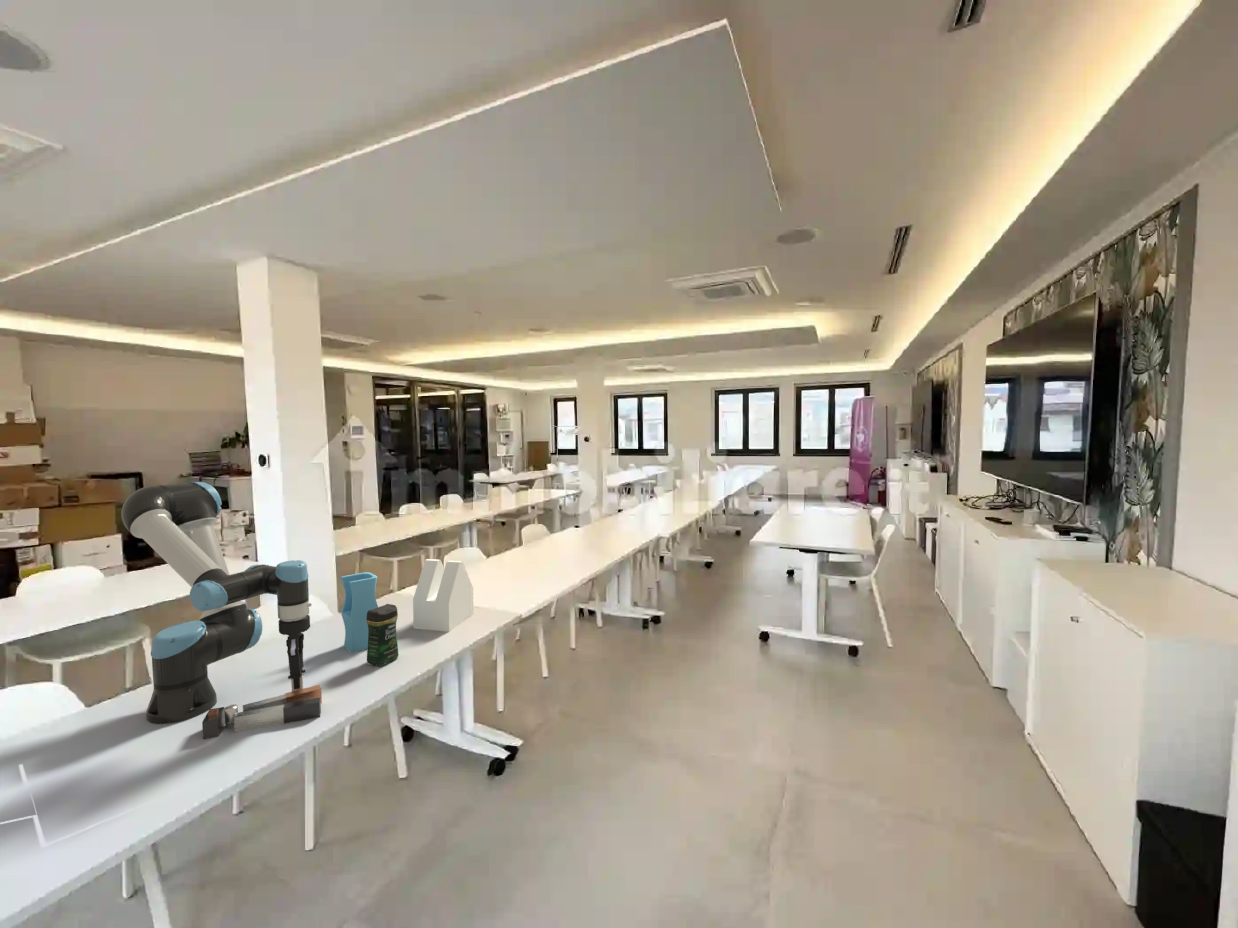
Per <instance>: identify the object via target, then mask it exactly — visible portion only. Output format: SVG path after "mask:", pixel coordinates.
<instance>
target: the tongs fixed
mask: <svg viewBox="0 0 1238 928" xmlns="http://www.w3.org/2000/svg"><path fill="white" fill-rule="evenodd" d="M321 706H322V703H321V697H319V698H313V699H307V700H302V701H296V702H290V703H285V705H279V706H273V707H268V708H262V709H256V710H250V711H245V712H243V711H240V712H239V711H238V713H236V715H235V717H234V733H238V732H246V731H250V730H255V729H256V730H257V729H260V728H266V727H271V726H278V725H282V724H283V725H284V724H285V725H286V724H290V723H296V722H301V721H306V720H312V719H317V718H321V713H322V707H321ZM201 723H202V725H201V726H202V740H208V739H212V738H217V737H218V738H219V737H220V736H221V732H222V731H223V729H224V727H225V706H222V707H216V708H215V707H214V708H211V709H210V710H208V711H207V712H206V715H205V716H204V718H203V720H202V722H201Z"/></svg>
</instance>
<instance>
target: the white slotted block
mask: <svg viewBox="0 0 1238 928" xmlns="http://www.w3.org/2000/svg"><path fill="white" fill-rule="evenodd" d="M418 578H419V579H418V582H417V585H416V588H415V592H414V595H413V599H412V609H413V610H412V611H413V612H412V614H413V623H412V624H413V629H417V630H418V629H419V630H426V631H429V630H430V631H438V632H446V633H450V632H451V631H453V630H454V629H456V628H457V627H458V626H460V625H461V624H462V623H464V622H465V621H467V620H468V619H470V618H471V617H472V616H474V587H473V585H472V582H471V580H470V577H469V574H468V572H467V569H466V567H465V565H464V562H463V561H462V560H447V561H446V562H445V566H444V564H443V562H442V560H441V559H435V558H434V559H433V558H426V559H424V563H423V565H422V568H421V572H420V575H419V577H418ZM455 627H456V628H455Z"/></svg>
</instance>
